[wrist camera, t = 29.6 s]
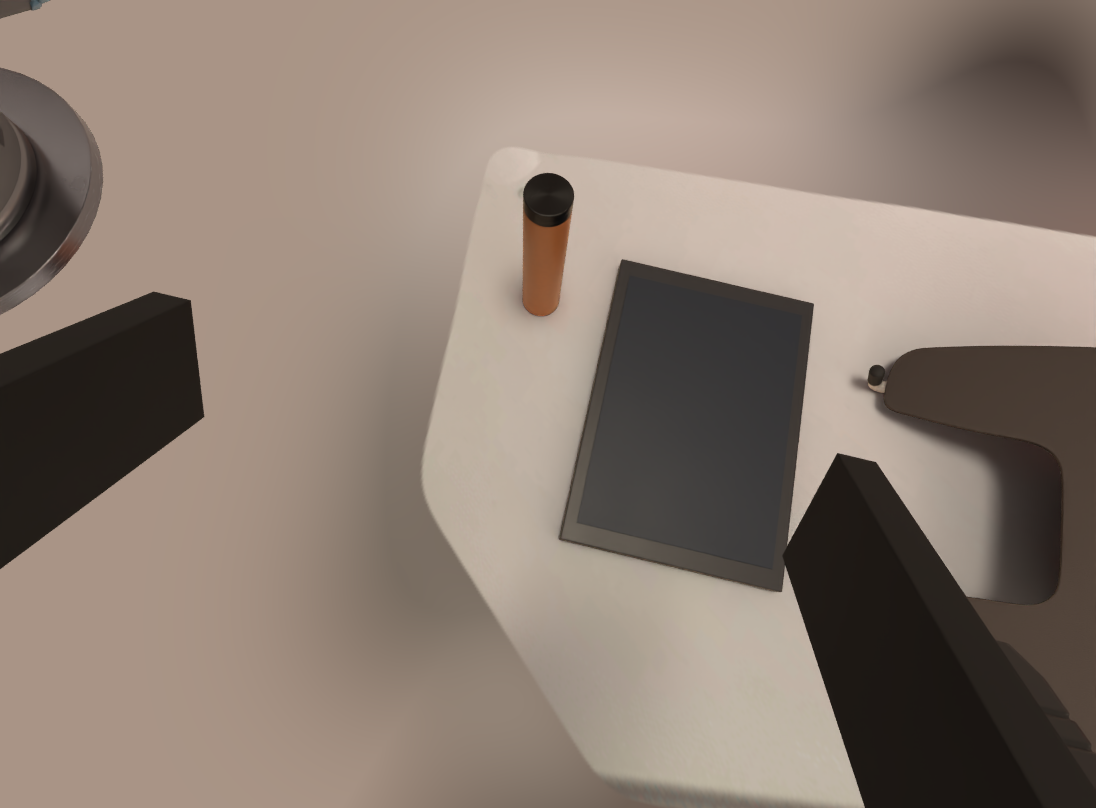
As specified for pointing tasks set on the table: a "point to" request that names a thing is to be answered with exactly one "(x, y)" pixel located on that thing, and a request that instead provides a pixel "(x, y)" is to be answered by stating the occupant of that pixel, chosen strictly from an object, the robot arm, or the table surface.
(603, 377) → the tablet
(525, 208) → the copper cylinder
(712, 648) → the table surface
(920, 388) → the laptop tray
